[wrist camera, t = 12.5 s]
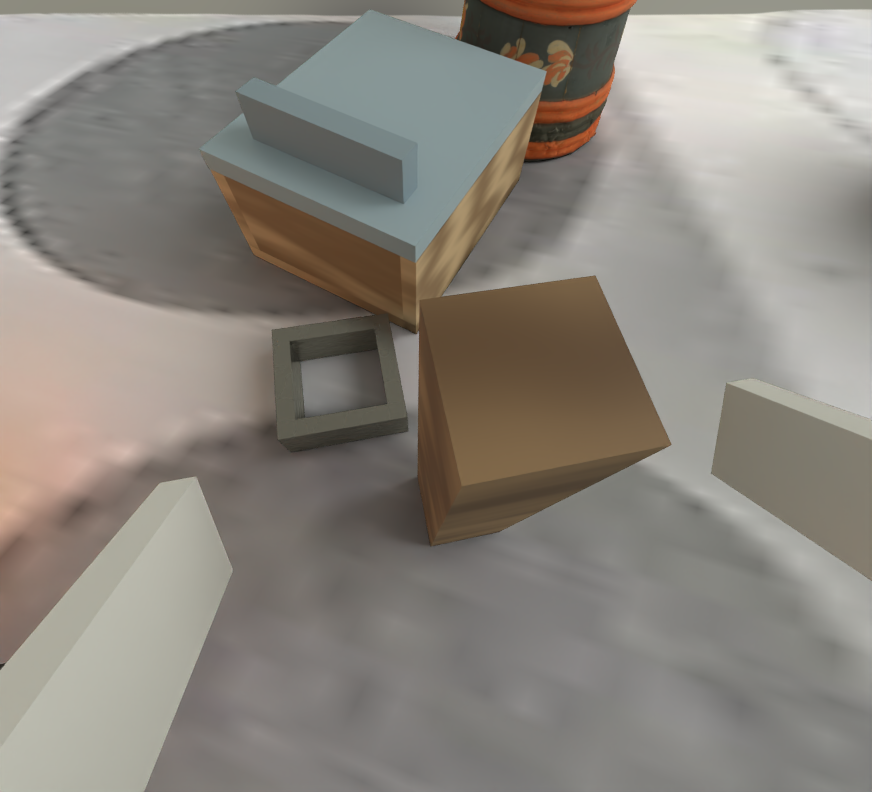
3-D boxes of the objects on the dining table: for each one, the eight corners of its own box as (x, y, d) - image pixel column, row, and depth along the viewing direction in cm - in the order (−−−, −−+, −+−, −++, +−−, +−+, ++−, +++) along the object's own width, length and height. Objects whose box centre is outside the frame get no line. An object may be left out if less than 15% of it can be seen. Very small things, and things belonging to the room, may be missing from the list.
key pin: (417, 476, 24) (419, 300, 9) (482, 464, 25) (595, 275, 9) (430, 546, 22) (461, 485, 7) (499, 531, 23) (671, 444, 7)
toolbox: (379, 124, 37) (372, 30, 31) (518, 180, 35) (541, 92, 28) (253, 255, 30) (210, 169, 24) (416, 334, 28) (416, 263, 22)
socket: (283, 350, 27) (271, 329, 25) (390, 334, 28) (387, 313, 26) (290, 452, 24) (277, 439, 22) (408, 431, 25) (407, 417, 23)
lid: (371, 29, 30) (366, -39, 27) (541, 90, 28) (558, 25, 25) (208, 168, 24) (174, 101, 20) (415, 262, 22) (415, 205, 18)
